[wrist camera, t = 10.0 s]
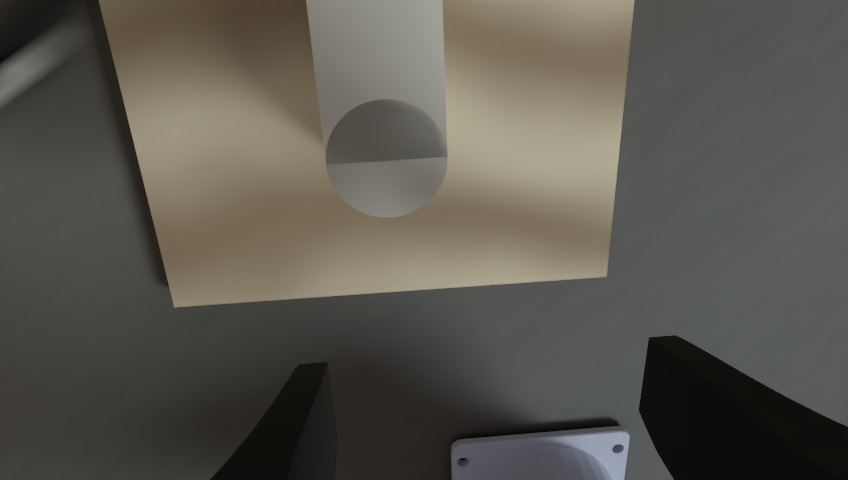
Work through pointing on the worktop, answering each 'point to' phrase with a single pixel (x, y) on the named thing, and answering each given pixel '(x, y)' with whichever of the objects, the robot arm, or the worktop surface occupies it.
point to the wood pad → (305, 159)
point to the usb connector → (381, 100)
